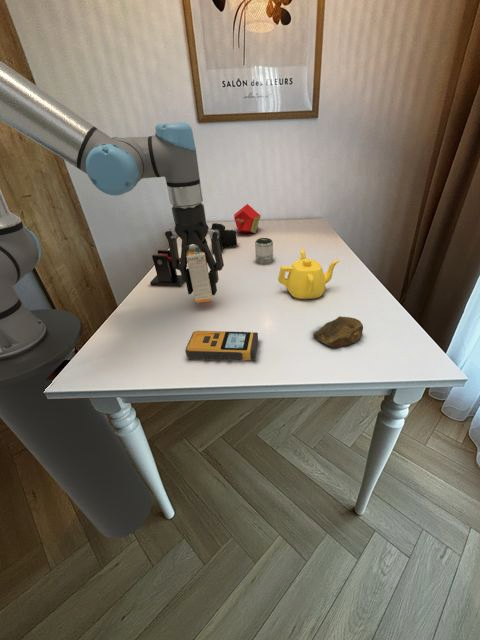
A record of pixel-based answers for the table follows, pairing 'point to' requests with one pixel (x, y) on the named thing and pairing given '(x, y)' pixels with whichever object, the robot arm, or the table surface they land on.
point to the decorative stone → (340, 332)
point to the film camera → (225, 236)
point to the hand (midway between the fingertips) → (202, 292)
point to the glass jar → (264, 250)
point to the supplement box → (199, 274)
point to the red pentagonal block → (247, 219)
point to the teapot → (306, 277)
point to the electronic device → (222, 345)
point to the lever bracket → (165, 271)
